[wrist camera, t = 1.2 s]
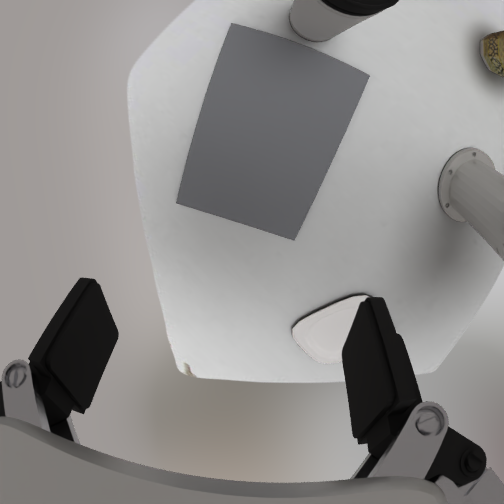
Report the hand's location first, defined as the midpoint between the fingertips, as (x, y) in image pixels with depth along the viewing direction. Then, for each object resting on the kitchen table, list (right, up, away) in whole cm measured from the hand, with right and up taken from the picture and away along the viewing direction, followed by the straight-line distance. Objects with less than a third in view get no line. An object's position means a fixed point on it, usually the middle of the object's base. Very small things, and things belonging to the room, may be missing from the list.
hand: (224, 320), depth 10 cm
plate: (+19, -13, +45) cm, 51 cm away
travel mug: (+8, +30, +16) cm, 35 cm away
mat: (+3, +17, +25) cm, 31 cm away
